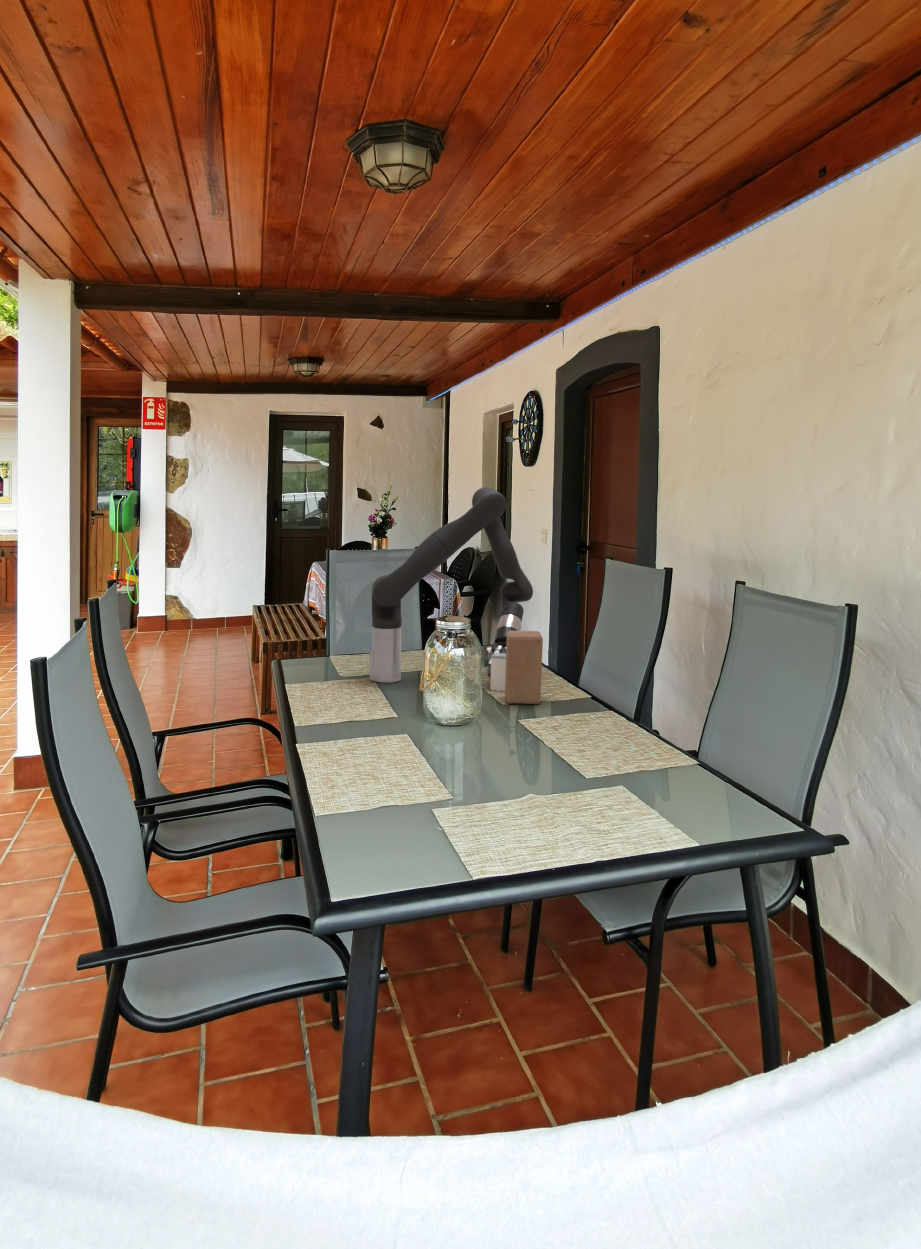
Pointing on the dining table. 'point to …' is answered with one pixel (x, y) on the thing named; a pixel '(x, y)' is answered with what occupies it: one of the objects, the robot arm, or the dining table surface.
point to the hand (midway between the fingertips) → (499, 676)
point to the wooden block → (523, 667)
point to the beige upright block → (498, 671)
